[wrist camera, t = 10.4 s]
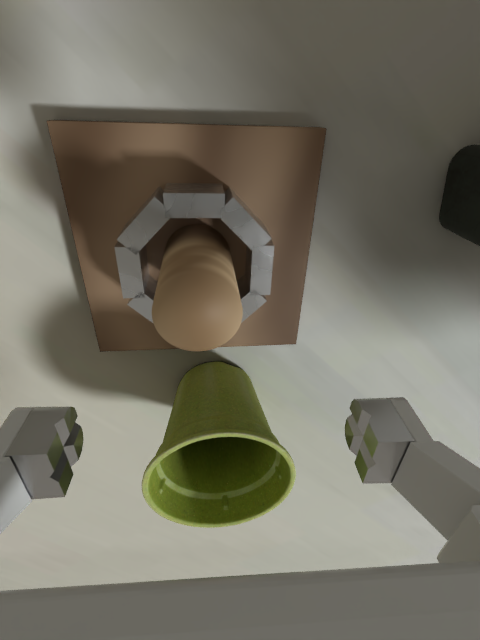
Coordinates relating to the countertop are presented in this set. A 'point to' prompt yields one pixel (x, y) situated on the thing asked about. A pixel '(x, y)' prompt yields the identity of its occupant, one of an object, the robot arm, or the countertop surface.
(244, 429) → the plant pot
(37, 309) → the countertop surface
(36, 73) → the countertop surface
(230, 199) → the steel ring
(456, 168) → the candle
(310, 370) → the countertop surface
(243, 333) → the walnut board
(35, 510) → the countertop surface
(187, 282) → the oak dowel
